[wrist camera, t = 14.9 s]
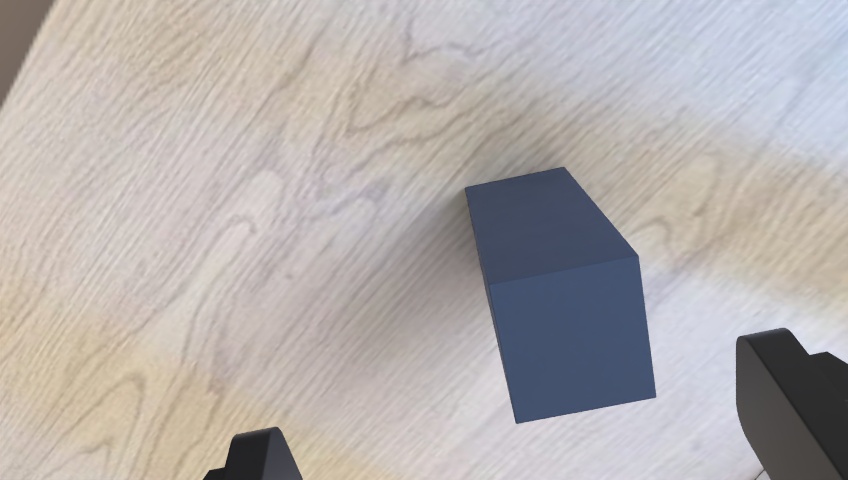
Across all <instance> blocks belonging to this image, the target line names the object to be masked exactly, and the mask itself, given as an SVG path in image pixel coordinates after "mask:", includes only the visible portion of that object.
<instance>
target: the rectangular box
mask: <svg viewBox="0 0 848 480" xmlns="http://www.w3.org/2000/svg"><path fill="white" fill-rule="evenodd" d="M465 191H466V196H467V201H468V206H469V211H470V216H471V221H472V226H473V230H474V235H475V240H476V245H477V250H478V255H479V260H480V265H481V270H482V275H483V280H484V285H485V289H486V294H487V298H488V303H489V307H490V311H491V316H492V320H493V325H494V329H495V333H496V338H497V342H498V347H499V351H500V355H501V360H502V364H503V369H504V373H505V377H506V382H507V386H508V391H509V395H510V400H511V404H512V408H513V413H514V417H515V422H516V424H518V423H524V422H529V421H534V420H540V419H545V418H550V417H555V416H561V415H566V414H571V413H577V412H582V411H587V410H593V409H598V408H603V407H609V406H614V405H619V404H624V403H630V402H635V401H640V400H646V399H651V398H656V390H655V382H654V374H653V367H652V359H651V351H650V343H649V335H648V327H647V319H646V311H645V303H644V295H643V288H642V280H641V272H640V264H639V256H638V254H637V253H636V252H635V251H634V250H633V248H632V247H631V246H630V245H629V244H628V242H627V241H626V240H625V239H624V238H623V236H622V235H621V234H620V233H619V232H618V231H617V229H616V228H615V227H614V226H613V225H612V223H611V222H610V221H609V220H608V219H607V217H606V216H605V215H604V214H603V213H602V211H601V210H600V209H599V208H598V207H597V205H596V204H595V203H594V202H593V201H592V200H591V198H590V197H589V196H588V195H587V194H586V192H585V191H584V190H583V189H582V188H581V186H580V185H579V184H578V183H577V182H576V180H575V179H574V178H573V177H572V176H571V174H570V173H569V172H568V171H567V170H566V168H565V167H561V168H556V169H552V170H547V171H542V172H537V173H533V174H528V175H523V176H518V177H513V178H509V179H504V180H499V181H494V182H490V183H485V184H480V185H475V186H470V187H466V188H465Z"/></svg>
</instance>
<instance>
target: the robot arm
mask: <svg viewBox="0 0 848 480" xmlns="http://www.w3.org/2000/svg"><path fill="white" fill-rule="evenodd" d="M736 405H737V412H738V416H739V420H740V423H741V426H742V429H743V431H744V434H745V436H746V438H747V440H748V442H749V443H750V445H751V447H752V449H753V450H754V452H755V454H756V455H757V457H758V459H759V461H760V462H761V464H762V466H763V467H764V469H765V471H766V473H767V474H768V476H769V478H770V480H848V364H847V363H845V362H844V361H842V360H840V359H839V358H837V357H835V356H834V355H832V354H830V353H829V352H823V353H818V354H813V355H809V354H808V353H807V352H806V350H805V349H804V348H803V347H802V345H801V344H800V343H799V341H798V340H797V339H796V338H795V336H794V335H793V334H792V333H791V332H790V331H789V330H788V329H786V328H779V329H774V330H769V331H764V332H759V333H754V334H749V335H744V336H740V337H738V339H737V342H736ZM203 480H303V478H302V476H301V474H300V472H299V469H298V467H297V465H296V463H295V460H294V458H293V456H292V454H291V451H290V449H289V447H288V445H287V442H286V440H285V438H284V436H283V434H282V432H281V430H280V429H279V428H278V427H271V428H266V429H261V430H256V431H251V432H246V433H241V434H236V435H235V436H234V437H233V439H232V441H231V444H230V448H229V452H228V456H227V460H226V464H225V467H224V468H219V469H214V470H209V472H208V473H207V474H206V476H205V477H204V479H203Z"/></svg>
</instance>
